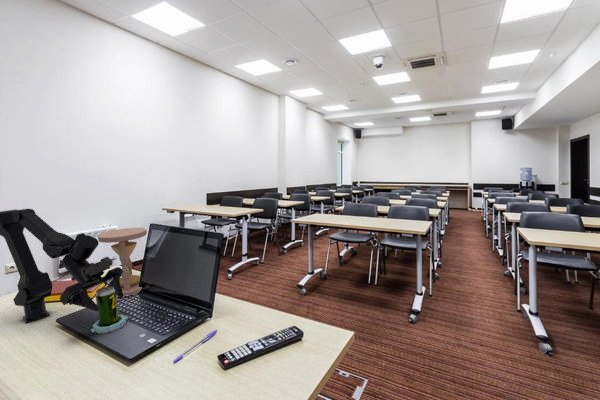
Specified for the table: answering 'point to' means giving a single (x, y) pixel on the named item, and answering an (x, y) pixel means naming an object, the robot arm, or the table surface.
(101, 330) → the teal ring frame
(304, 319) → the table surface
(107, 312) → the beer can
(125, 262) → the hourglass
